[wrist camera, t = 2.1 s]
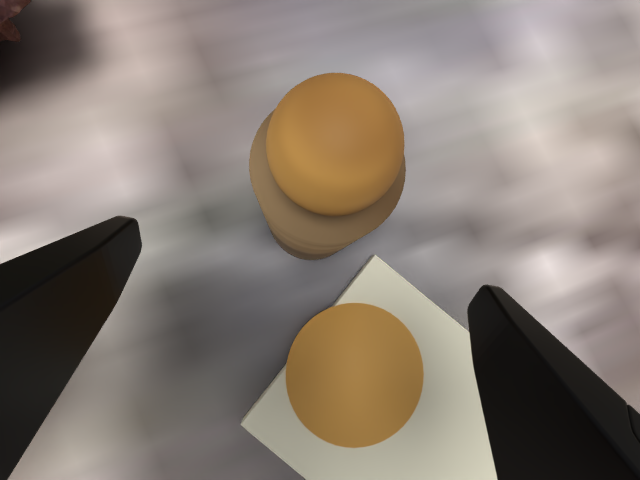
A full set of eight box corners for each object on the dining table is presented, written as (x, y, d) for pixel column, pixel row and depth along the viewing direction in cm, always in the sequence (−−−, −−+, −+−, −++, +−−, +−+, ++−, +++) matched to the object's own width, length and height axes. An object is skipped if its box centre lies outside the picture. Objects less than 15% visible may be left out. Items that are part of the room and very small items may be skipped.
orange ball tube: (317, 277, 19) (362, 275, 7) (250, 222, 19) (181, 125, 7) (370, 212, 20) (495, 107, 8) (305, 159, 20) (328, -28, 8)
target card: (565, 687, 18) (579, 708, 17) (233, 410, 18) (230, 418, 17) (670, 501, 19) (688, 512, 18) (363, 249, 19) (367, 247, 19)
